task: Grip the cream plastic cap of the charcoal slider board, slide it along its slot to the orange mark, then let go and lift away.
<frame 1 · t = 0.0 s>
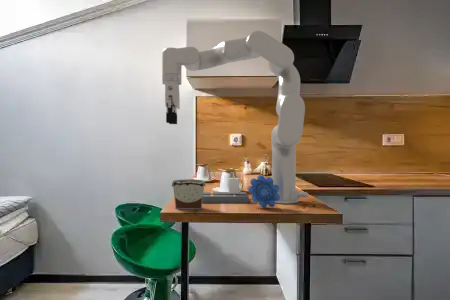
hand: (171, 123, 141), 31 cm above the table, tool pointing down, fingers open, 9 cm apart
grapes: (264, 208, 129), on the table
fader base: (223, 200, 145), on the table
fader tab: (233, 187, 145), point 5 cm above the table, slide at 0.0 cm
food container: (190, 207, 130), on the table
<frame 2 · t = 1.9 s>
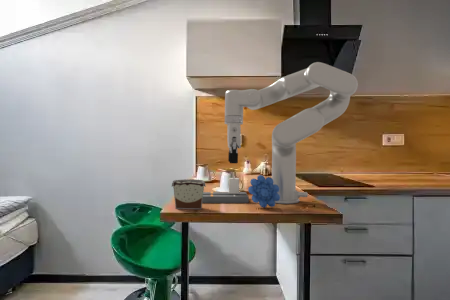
hand: (232, 162, 145), 16 cm above the table, tool pointing down, fingers open, 9 cm apart
nothing on the table moved.
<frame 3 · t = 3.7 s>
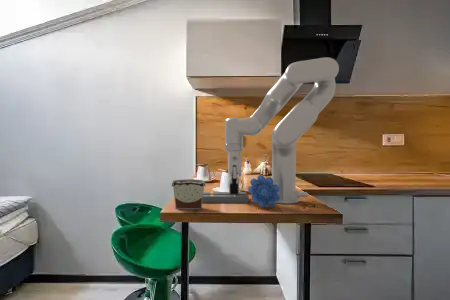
hand: (233, 192, 145), 3 cm above the table, tool pointing down, fingers closed on fader tab, 3 cm apart
fader tab: (233, 187, 145), point 5 cm above the table, slide at 0.0 cm, touching gripper
everything else where it was.
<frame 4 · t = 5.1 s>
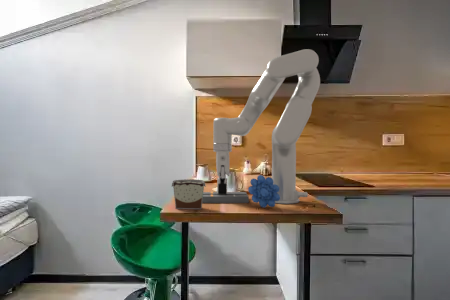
hand: (222, 192, 145), 3 cm above the table, tool pointing down, fingers closed on fader tab, 3 cm apart
fader tab: (222, 187, 145), point 5 cm above the table, slide at 4.8 cm, touching gripper
everything else where it was.
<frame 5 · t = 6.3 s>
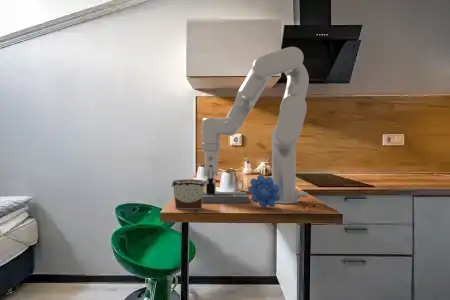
hand: (210, 192, 145), 3 cm above the table, tool pointing down, fingers closed on fader tab, 3 cm apart
fader tab: (210, 187, 145), point 5 cm above the table, slide at 9.5 cm, touching gripper
everything else where it was.
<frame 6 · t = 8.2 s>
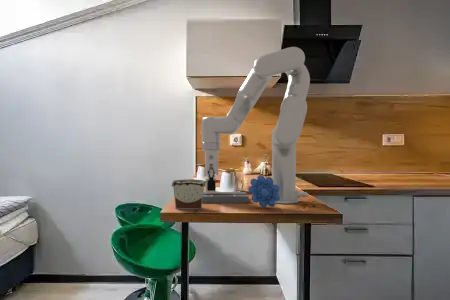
hand: (211, 188, 145), 5 cm above the table, tool pointing down, fingers open, 9 cm apart
fader tab: (210, 187, 145), point 5 cm above the table, slide at 9.5 cm
everything else where it was.
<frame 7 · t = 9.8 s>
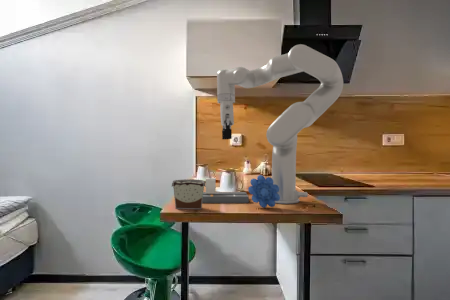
hand: (226, 139, 152), 25 cm above the table, tool pointing down, fingers open, 9 cm apart
nothing on the table moved.
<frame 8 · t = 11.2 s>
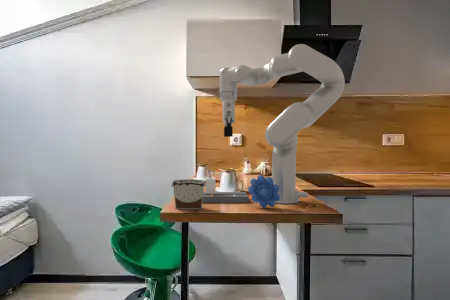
hand: (228, 136, 154), 26 cm above the table, tool pointing down, fingers open, 9 cm apart
nothing on the table moved.
at the end: fader tab slide at 9.5 cm; the gripper is holding nothing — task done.
